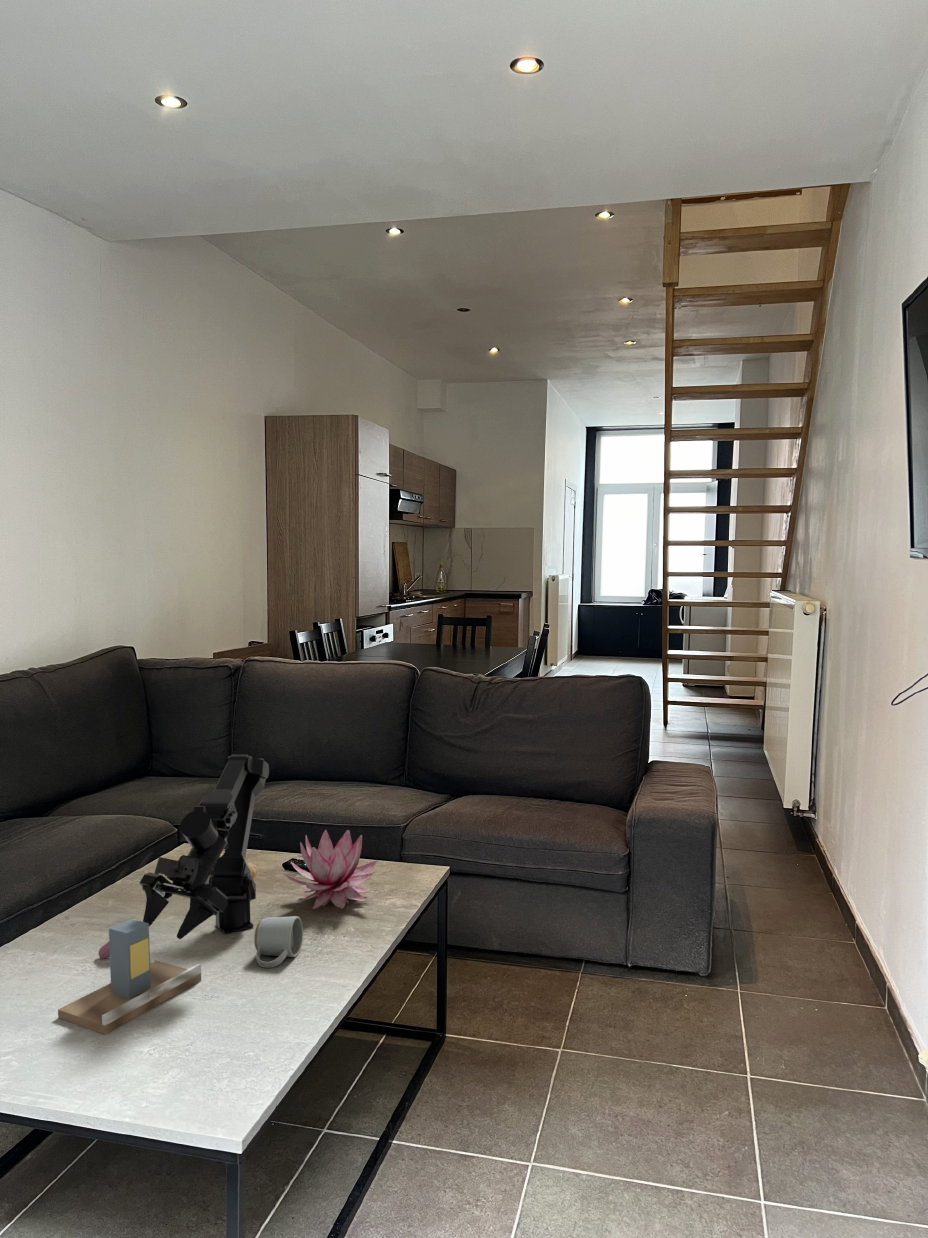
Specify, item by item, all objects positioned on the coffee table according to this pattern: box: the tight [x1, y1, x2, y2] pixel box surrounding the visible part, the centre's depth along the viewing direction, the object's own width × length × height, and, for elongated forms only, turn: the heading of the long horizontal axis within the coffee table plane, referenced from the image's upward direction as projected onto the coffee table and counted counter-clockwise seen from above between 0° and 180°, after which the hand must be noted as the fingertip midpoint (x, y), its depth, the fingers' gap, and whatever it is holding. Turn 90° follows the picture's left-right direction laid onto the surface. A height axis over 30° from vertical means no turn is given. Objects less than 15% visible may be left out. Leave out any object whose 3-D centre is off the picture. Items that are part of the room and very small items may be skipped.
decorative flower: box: [284, 829, 379, 910], centre depth 210 cm, size 21×21×15 cm
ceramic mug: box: [253, 915, 304, 969], centre depth 180 cm, size 11×8×8 cm
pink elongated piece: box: [98, 918, 140, 959], centre depth 184 cm, size 10×5×7 cm, turn 170°
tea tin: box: [108, 918, 151, 999], centre depth 163 cm, size 5×5×12 cm
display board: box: [57, 959, 202, 1035], centre depth 163 cm, size 22×12×3 cm, turn 151°
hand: (160, 933), depth 169 cm, fingers open, 9 cm apart
